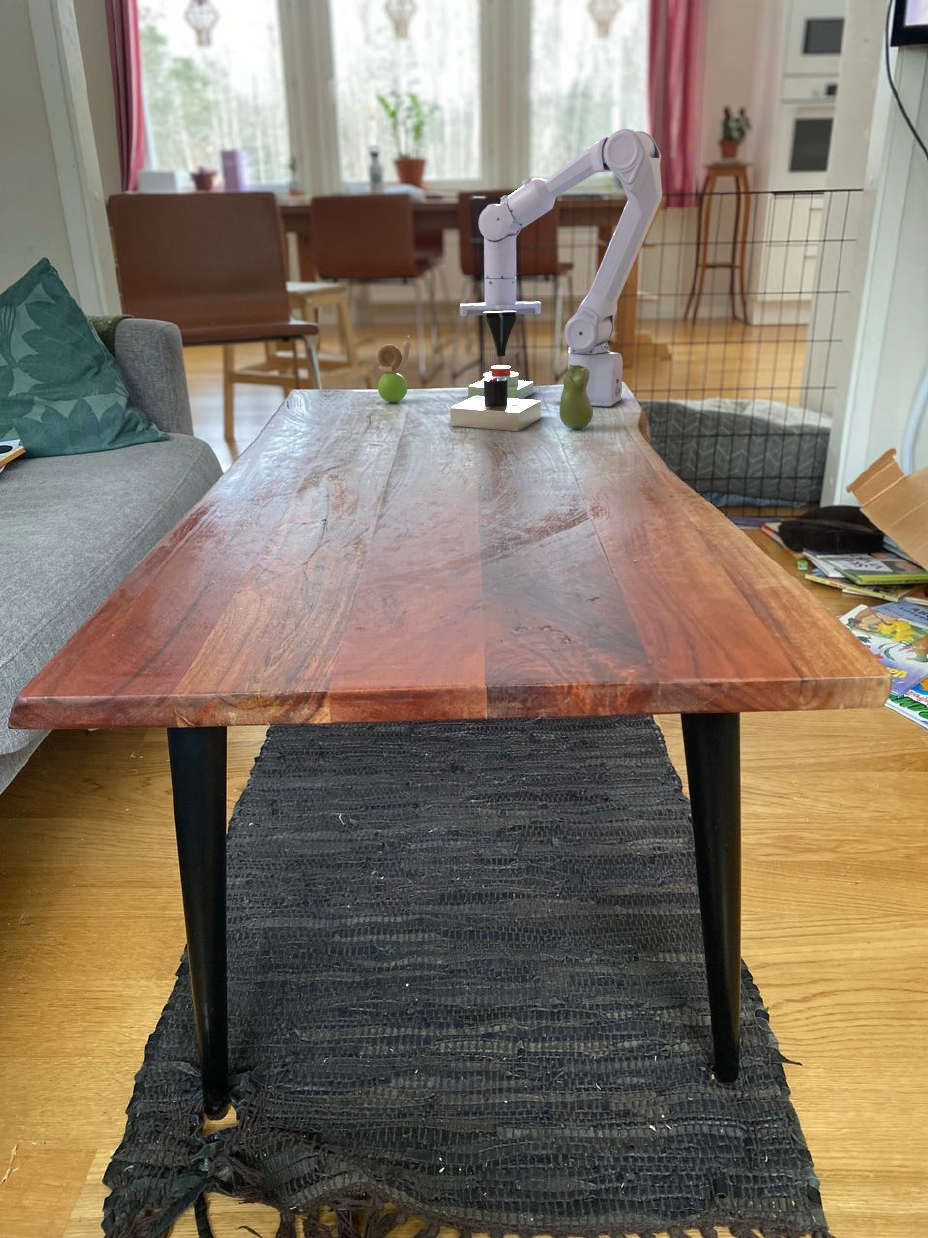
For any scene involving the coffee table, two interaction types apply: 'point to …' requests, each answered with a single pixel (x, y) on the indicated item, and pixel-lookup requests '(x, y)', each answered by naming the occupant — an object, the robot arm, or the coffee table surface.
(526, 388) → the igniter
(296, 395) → the coffee table surface
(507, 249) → the robot arm
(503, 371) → the button
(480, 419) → the panel
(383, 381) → the snail figurine
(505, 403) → the stove knob
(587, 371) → the pear
